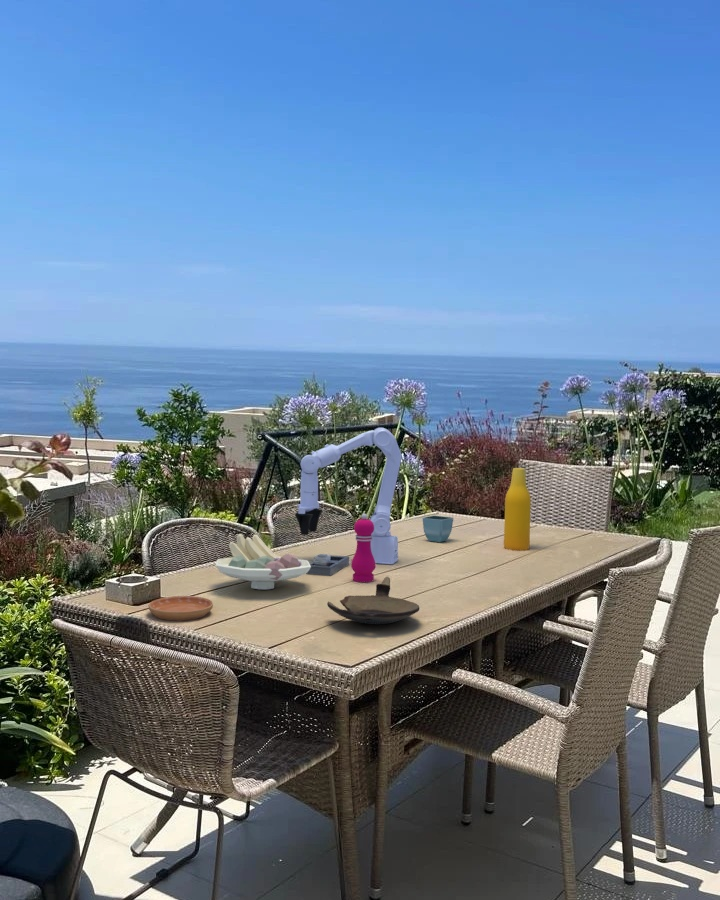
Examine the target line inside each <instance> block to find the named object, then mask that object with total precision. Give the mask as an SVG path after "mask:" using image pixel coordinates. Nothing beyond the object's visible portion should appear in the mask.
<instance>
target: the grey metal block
mask: <svg viewBox="0 0 720 900" xmlns="http://www.w3.org/2000/svg"><path fill="white" fill-rule="evenodd" d="M313 562H314V565H316V566H331V556H330V554H326V553H325V554H324V553H319V554H317V555H316V556H314V557H313Z"/></svg>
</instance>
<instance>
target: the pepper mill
mask: <svg viewBox="0 0 720 900" xmlns="http://www.w3.org/2000/svg"><path fill="white" fill-rule="evenodd" d="M353 529H354V530H353V531H354V532H355V533H356V535H355V541H356V549H355V553H354V555H353V558H352V560H351V569H352V571H353V574H352V581H353V582H356V583H357V582H358V583H370V582H374V580H375V579H374V577H375V574H374V573H373V572H374V571H375V569H376V563H375V560H374V557H373V555H372V551H371V540H372V535H371V534H372V533H373V531H374V524H373V522H372V521H370V519H368V515H367V514H366V513H362V514H361V517H360V519H358V520H356V521H355V523H354V525H353Z"/></svg>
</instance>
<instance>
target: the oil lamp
mask: <svg viewBox="0 0 720 900" xmlns="http://www.w3.org/2000/svg"><path fill="white" fill-rule="evenodd" d="M375 587H376V588H375V595H374V594H373V595H346V596H345V597H344V598H342V599H340V600H339V602H340V604H341V605H342V606H343V607H344V608H345V609H343V608H341V609H340V608H339V606H336V605H335V604H334V603H332V602H331V601H327V607H328V608H329V609H330V610H331V611H333V612H334V613H336V614H338V615H339V616H341V617H342V618H344V619H348V620H350V621H352V622H355V623H359V624H360V623H361V624H366V625H387V624H392V623H396V622H398V621H402V620H404V619H407V618H409V617H410V616H413V615H415V614H417V613H418V612H420V605H419V604H418V603H415V602H413V601H410V600H406V599H403V598H399V597H398V598H397V597H392V596H389V595H390V591H391V578H390V577H389V576H385V577H384V578H383V579H382V582H381V583H376V585H375Z"/></svg>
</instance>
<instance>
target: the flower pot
mask: <svg viewBox="0 0 720 900" xmlns="http://www.w3.org/2000/svg"><path fill="white" fill-rule="evenodd" d="M453 522H454V517H453V516H452V517H450V516H441V515H431V516H426V517H425V516H424V517H422V525H423V526H422V527H423V528H422V529H423V533H424V536H425V537H426V538H427V541H429V542H434V543H435V542H436V543H442V542H446V541H447V540H448V539H449V538H450V535H451V533H452V530H453V525H454V524H453Z"/></svg>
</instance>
